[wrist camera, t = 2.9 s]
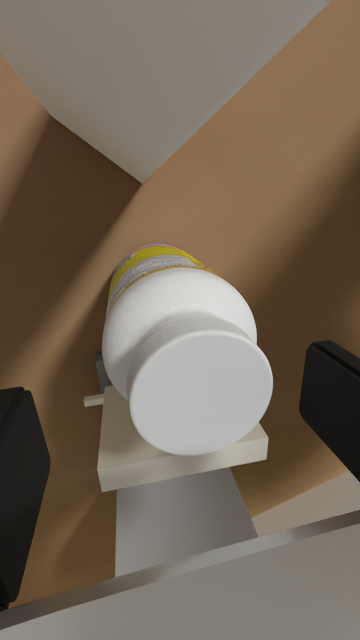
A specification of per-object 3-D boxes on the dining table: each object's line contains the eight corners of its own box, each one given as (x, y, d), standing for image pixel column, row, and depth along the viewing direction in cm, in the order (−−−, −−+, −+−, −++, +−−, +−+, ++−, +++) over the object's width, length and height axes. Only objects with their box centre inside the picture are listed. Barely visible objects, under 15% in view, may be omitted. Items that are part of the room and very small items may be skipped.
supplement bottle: (206, 322, 22) (298, 455, 11) (120, 338, 22) (119, 501, 10) (198, 234, 20) (309, 281, 8) (100, 248, 19) (65, 323, 7)
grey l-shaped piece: (96, 353, 22) (73, 488, 11) (223, 337, 23) (304, 443, 13) (121, 491, 27) (120, 662, 17) (222, 470, 29) (276, 617, 19)
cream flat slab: (83, 389, 20) (65, 475, 14) (225, 369, 22) (268, 437, 15) (87, 408, 21) (71, 498, 14) (225, 386, 22) (266, 459, 16)
